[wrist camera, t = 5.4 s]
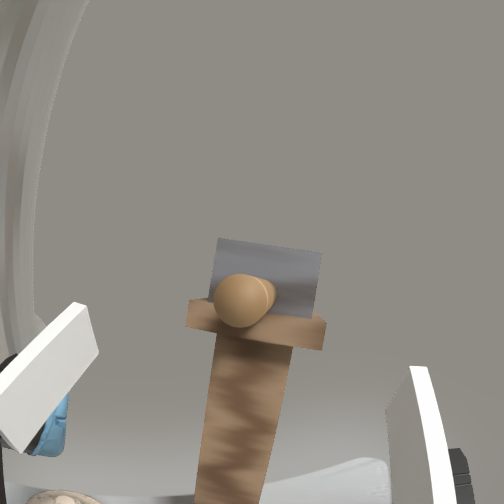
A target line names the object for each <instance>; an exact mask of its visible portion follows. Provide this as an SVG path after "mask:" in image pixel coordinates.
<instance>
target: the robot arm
mask: <svg viewBox="0 0 504 504" xmlns="http://www.w3.org/2000/svg"><path fill="white" fill-rule="evenodd" d="M89 1H90V0H0V504H7V503H6V495H5V487H4V477H3V465H2V464H3V463H2V447H5V448H8V449H12V450H16V451H17V452H18V453H20V454H22V453H23V452H25V453H27V454H28V455H31V456H36V455H41V456H48V457H56V456H58V455H60V454H61V453H62V452H63V449H64V444H65V433H66V417H67V408H68V396H69V390H70V389H71V388H72V386H73V385H74V384H75V382H76V381H77V380H78V379H79V378H80V376H81V375H82V374H83V373H84V371H85V370H86V369H87V368H88V366H89V365H90V364H91V363H92V361H93V360H94V359H95V357H96V356H97V355H98V354H99V351H98V347H97V344H96V341H95V337H94V333H93V329H92V325H91V321H90V317H89V313H88V309H87V306H85V305H82V304H79V303H76V302H73V303H72V304H71V305H70V306H69V307H68V308H67V309H66V310H65V311H63V312H62V313H61V314H60V315H59V316H58V317H57V318H56V319H55V320H54V321H53V322H52V323H50V324H49V325H48V326H47V327H46V325H45V324H44V322H43V321H42V320H41V319H40V318H39V317H38V316H37V315H36V314H35V311H34V290H33V245H34V225H35V211H36V200H37V191H38V182H39V175H40V168H41V161H42V155H43V149H44V143H45V138H46V133H47V129H48V124H49V119H50V115H51V111H52V106H53V103H54V99H55V95H56V91H57V87H58V84H59V80H60V76H61V73H62V70H63V67H64V64H65V61H66V58H67V55H68V52H69V49H70V46H71V44H72V41H73V38H74V35H75V33H76V30H77V28H78V25H79V22H80V20H81V18H82V15H83V13H84V10H85V8H86V6H87V4H88V2H89ZM385 413H386V422H387V431H388V442H389V454H390V468H391V489H392V504H475V500H474V494H473V488H472V485H471V477H470V475H469V467H468V463H467V459H466V457H465V456H464V454H463V453H462V451H461V450H460V448H457V449H447V444H446V439H445V434H444V430H443V426H442V421H441V417H440V413H439V409H438V406H437V401H436V398H435V394H434V390H433V387H432V383H431V380H430V376H429V373H428V369H427V367H420V366H409V368H408V370H407V372H406V374H405V376H404V378H403V380H402V382H401V384H400V385H399V387H398V389H397V391H396V393H395V394H394V396H393V398H392V400H391V402H390V403H389V405H388V407H387V409H386V410H385Z"/></svg>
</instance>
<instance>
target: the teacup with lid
mask: <svg viewBox="0 0 504 504" xmlns="http://www.w3.org/2000/svg"><path fill="white" fill-rule="evenodd" d="M26 504H101V503H100V502H98V501H96V500H95V499H93V498H91V497H88V496H86V495H83V494H80V493H77V492H72V491H65V490H51V491H45V492H41V493H39V494H36V495H35V496H33V497H31V498H30V499H29V500H28V501H27V503H26Z"/></svg>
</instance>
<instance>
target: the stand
mask: <svg viewBox="0 0 504 504" xmlns="http://www.w3.org/2000/svg"><path fill="white" fill-rule="evenodd" d="M326 324H327V323H326V322H325V321H324V320H323V319H322V318H321V317H320V316H319V315H318V313H316V312H313V313H312V319H308V318H301V317H294V316H288V315H281V314H275V313H269V312H267V313H266V314H264V315H263V316H262V317H261V318H260V319H259V320H258V321H257V322H256V323H254V324H253V325H251V326H248V327H243V328H238V327H233V326H230V325H228V324H226V323H225V322H223V321H222V320H221V319H220V318H219V316H218V315H217V313H216V311H215V308H214V303H212V302H208V298H204V299H195V300H190V301H189V306H188V313H187V321H186V327H190V328H195V329H199V330H204V331H209V332H214V333H217V337H216V343H215V350H214V356H213V363H212V370H211V377H210V383H209V391H208V397H207V405H206V412H205V419H204V427H203V434H202V442H201V449H200V457H199V464H198V472H197V481H196V489H195V496H194V504H259V500H260V496H261V492H262V488H263V484H264V480H265V476H266V472H267V468H268V464H269V459H270V455H271V451H272V446H273V442H274V438H275V433H276V428H277V424H278V419H279V414H280V410H281V405H282V400H283V396H284V391H285V386H286V381H287V376H288V370H289V365H290V360H291V354H292V349H293V347H300V348H307V349H314V350H322V346H323V341H324V335H325V329H326Z"/></svg>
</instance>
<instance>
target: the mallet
mask: <svg viewBox="0 0 504 504" xmlns="http://www.w3.org/2000/svg"><path fill="white" fill-rule="evenodd" d="M321 254H322V253H318V252H312V251H305V250H298V249H291V248H285V247H277V246H271V245H264V244H257V243H250V242H243V241H236V240H229V239H222V238H218V242H217V248H216V253H215V259H214V266H213V271H212V278H211V284H210V290H209V297H208V302H212V303H214V308H215V311H216V313H217V315H218V316H219V318H220V319H221V320H222V321H223V322H225V323H226V324H228V325H230V326H233V327H238V328H243V327H248V326H251V325H253V324H254V323H256V322H257V321H258V320H259V319H260V318H261V317H262V316H263V315H264V314H266V313H267V312H269V313H275V314H281V315H288V316H294V317H301V318H308V319H312V313H313V307H314V301H315V295H316V288H317V281H318V275H319V268H320V261H321Z"/></svg>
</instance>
